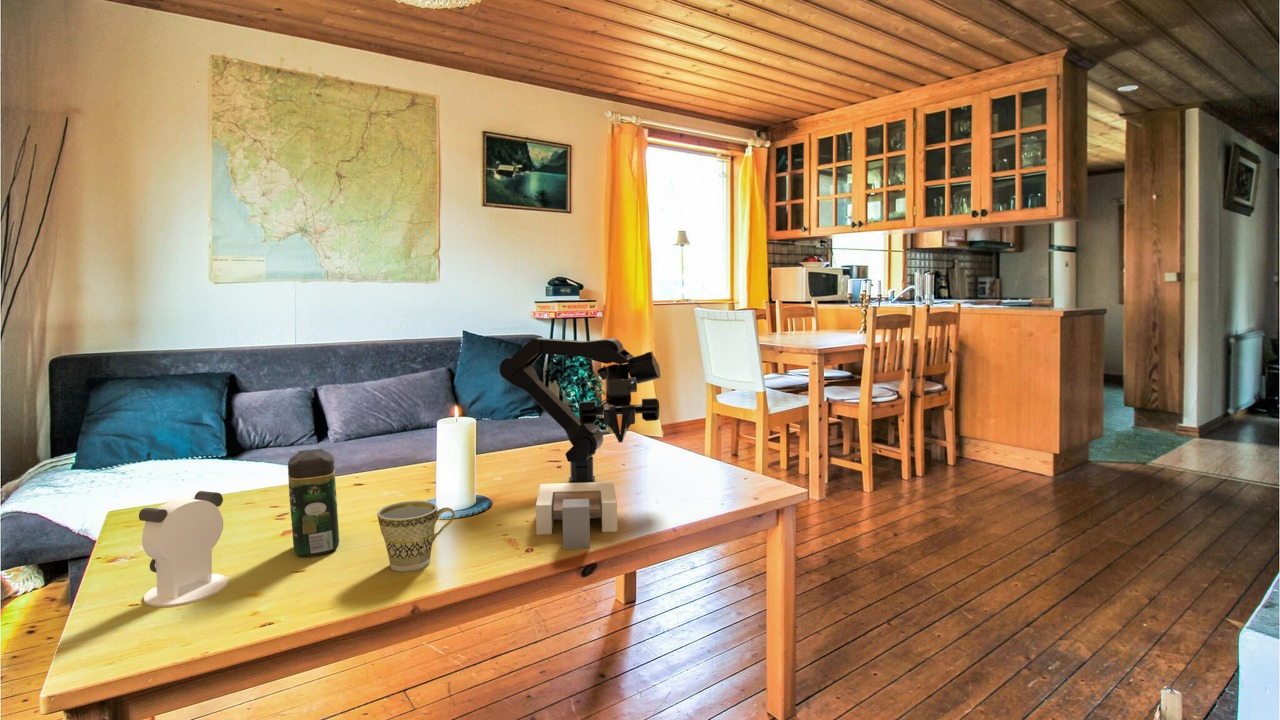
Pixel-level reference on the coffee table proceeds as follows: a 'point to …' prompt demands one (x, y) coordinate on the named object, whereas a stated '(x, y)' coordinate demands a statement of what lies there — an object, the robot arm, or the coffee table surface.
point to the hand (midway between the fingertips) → (620, 441)
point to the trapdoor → (591, 495)
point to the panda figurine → (183, 549)
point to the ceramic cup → (410, 532)
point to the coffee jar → (313, 502)
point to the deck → (548, 491)
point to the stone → (576, 523)
